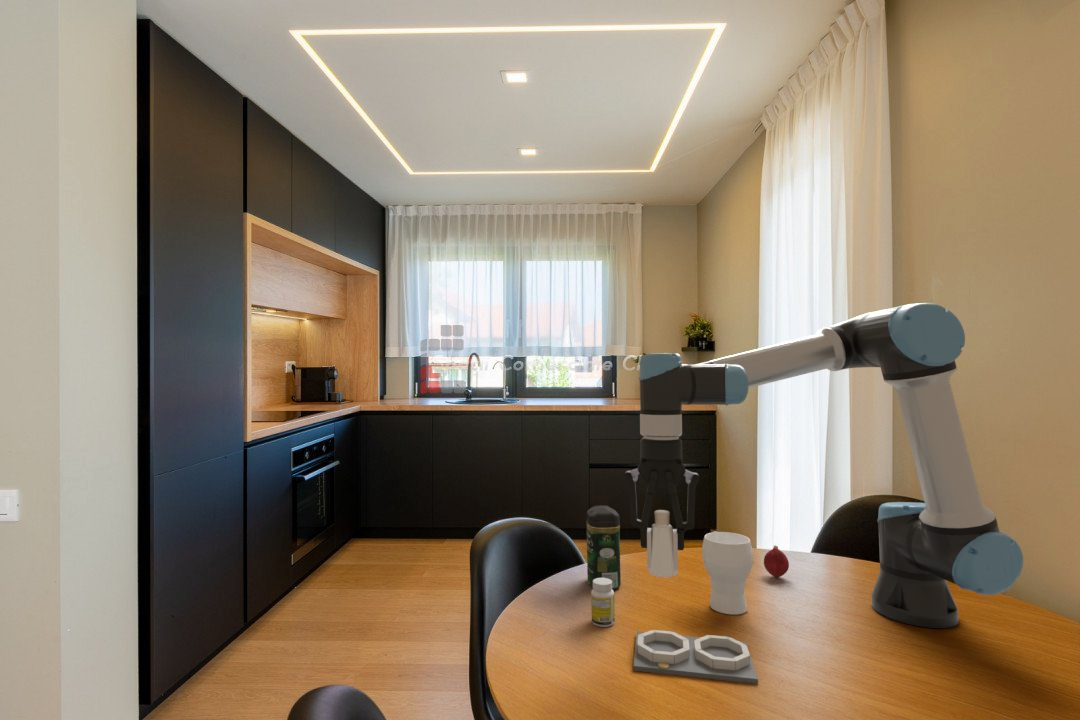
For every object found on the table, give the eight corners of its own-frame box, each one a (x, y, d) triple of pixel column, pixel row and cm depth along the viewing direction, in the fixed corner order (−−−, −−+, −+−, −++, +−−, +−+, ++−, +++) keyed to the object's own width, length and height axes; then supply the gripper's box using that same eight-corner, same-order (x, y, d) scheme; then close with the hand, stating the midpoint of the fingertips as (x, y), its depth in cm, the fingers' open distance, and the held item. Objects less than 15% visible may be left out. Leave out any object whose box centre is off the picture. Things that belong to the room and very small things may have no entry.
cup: (758, 619, 111) (757, 546, 112) (705, 615, 114) (704, 543, 114) (749, 599, 122) (748, 532, 122) (700, 596, 124) (699, 530, 125)
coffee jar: (585, 577, 136) (584, 503, 137) (616, 577, 136) (615, 503, 137) (590, 592, 127) (589, 512, 127) (623, 591, 127) (622, 512, 128)
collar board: (745, 646, 100) (745, 633, 100) (758, 684, 88) (757, 669, 88) (636, 635, 105) (636, 623, 105) (633, 670, 92) (633, 656, 92)
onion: (793, 582, 132) (792, 549, 133) (769, 582, 132) (769, 549, 133) (783, 574, 138) (782, 542, 138) (760, 574, 138) (759, 542, 138)
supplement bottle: (601, 615, 114) (601, 575, 114) (619, 622, 111) (618, 580, 111) (586, 622, 111) (586, 581, 111) (604, 630, 107) (604, 587, 108)
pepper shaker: (649, 566, 101) (649, 507, 102) (679, 569, 100) (678, 509, 100) (645, 575, 96) (644, 513, 97) (676, 579, 94) (675, 515, 95)
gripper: (707, 436, 101) (709, 563, 100) (616, 434, 104) (617, 557, 103) (711, 440, 93) (713, 577, 92) (612, 438, 97) (613, 570, 96)
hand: (662, 566), depth 98 cm, fingers closed on pepper shaker, 4 cm apart
